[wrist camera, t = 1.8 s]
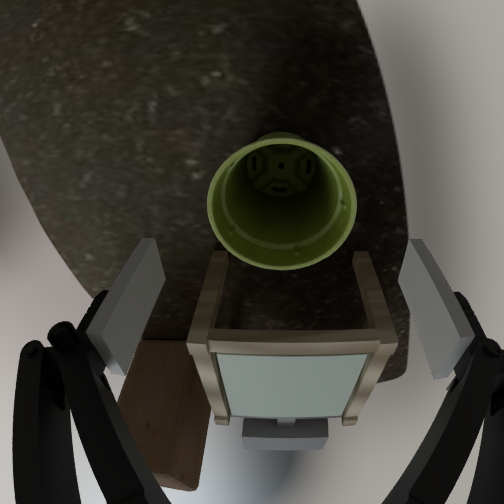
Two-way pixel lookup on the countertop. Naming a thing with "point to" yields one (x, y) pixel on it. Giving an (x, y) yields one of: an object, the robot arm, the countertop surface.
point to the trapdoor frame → (291, 338)
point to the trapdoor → (288, 396)
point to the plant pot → (281, 203)
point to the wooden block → (167, 411)
